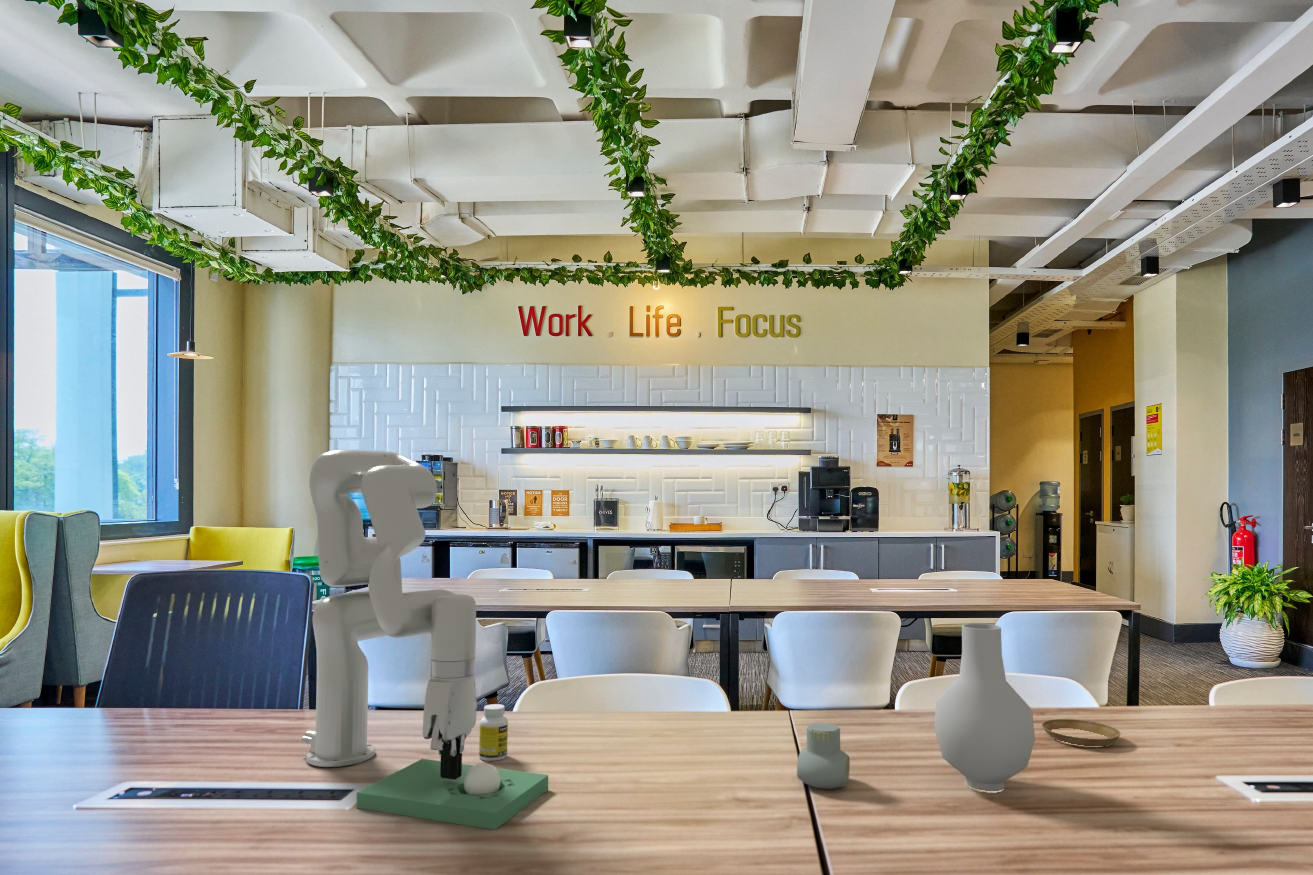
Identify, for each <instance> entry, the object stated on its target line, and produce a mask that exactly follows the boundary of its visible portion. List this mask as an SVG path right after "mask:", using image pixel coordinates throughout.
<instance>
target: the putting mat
mask: <svg viewBox="0 0 1313 875" xmlns="http://www.w3.org/2000/svg"><path fill="white" fill-rule="evenodd" d="M440 765H441V760H435V759H429V758H427V759H426V758H421V759H419V760H417V761H415V762H412V764H410V765H407V766H405V767H403V768H402V769H400V770H398V771H396V772H394V773H392V774H390V775H387V776H386V777H384V778H382V779H380V780H378V781H377V782H374V783H372V784H370V785H368V786H367V787H364V788H363V789H361V790H358V791H356V809H360V810H367V811H374V812H379V813H386V814H393V815H400V816H405V817H412V818H418V819H424V820H430V821H431V820H432V821H437V822H445V823H449V824H456V825H463V826H468V827H476V828H483V829H486V830H487V829H489V830H494V831H495V830H497V829H498V828H500V827H501V826H502V825H503V824H504V823H506V822H507V821H509V820H510V819H511V818H513V817H514V816H515V815H516V814H518V813H519V812H521V811H522V810H523V809H525V808H526V807H528V806H529V805H530V804H532V803H533V802H534V801H535V800H537V799H538V798H539V797H541V796H542V795H544V793H546V792H547V791H548V790H549V775H548V774H543V773H542V774H541V773H535V772H528V771H520V770H514V769H513V770H512V769H505V768H504V769H503V768H497V767H495V768H496V769H497V771H498V772H499V775H500V787H499V790H498V791H497V793H493V794H487V795H480V796H474V795H467V793H466V791H465V788H464V779H465V776H466V774H467V772H468V771H469V770H470V769H471V768H472V767H473V766H475V765H476V764H475V765H474V764H464V763H462V775H461V777H459V778H457V779H456V780H453V779H446V778H441V776H440Z"/></svg>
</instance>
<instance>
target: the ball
mask: <svg viewBox="0 0 1313 875" xmlns="http://www.w3.org/2000/svg"><path fill="white" fill-rule="evenodd" d="M496 768H497V767H495V766H494V765H492V764H490V763H488V762H480V763H477V764H475V766H473V767H472V768H471V769H470V770H469V771H468V772H467V774H466V776H465V779H464V788H465V791H466V793H467V795H474V796H480V795H487V794H493V793H497V791H498V790H499V787H500V775H499V772H498V771H497V769H496Z"/></svg>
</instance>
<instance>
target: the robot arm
mask: <svg viewBox="0 0 1313 875" xmlns="http://www.w3.org/2000/svg"><path fill="white" fill-rule="evenodd" d="M309 472H310V473H309V491H310V496H311V500H312V503H313V507H314V510H315V514H316V522H317V523H316V524H317V548H318V550H317V551H318V552H317V553H318V567H319V568H318V569H319V575H320V578H321V581H322V582H323V583H324V584H325V585H327V586H329V587H337V588H338V587H339V588H341V587H352V586H353V587H354V586H360V585H361V586H363V585H368V591H367V590H366V591H355V592H354V591H353V592H345V593H338V594H333V595H330V596H327V597H324V598H323V599H322V600H320V601H319V602H318V603H317V604H316V606H314V607H315V608H313V613H312V619H311V620H312V627H313V635H314V639H315V648H316V691H315V692H316V694H315V695H316V696H315V697H316V700H315V702H316V703H315V704H316V705H315V731H314V730H307V731H306V732H305V734H304V736H302V738H301V744H304V745H310V750H309V751H307V753H306V755H305V756H306V758H305V760H306V762H307V764H309V765H311V766H314V767H321V768H338V767H346V766H351V765H357V764H360V763H362V762H365V761H368V760H369V759H372V757H374V756H375V754H376V747H375V745H373V744H371V743H369V742H368V721H369V720H368V717H369V716H368V715H369V714H368V713H369V712H368V710H369V707H368V706H369V663H368V659H367V656H366V655H365V653H364V652H363V650H362V648H361V647H360V646H359V643H358V642H361V641H364V640H372V639H377V638H383V637H390V638H394V639H399V638H408V637H413V636H419V635H426V634H430V660H429V661H430V663H429V664H430V665H429V679H428V681H427V686H426V692H425V697H424V707H423V715H422V716H423V718H422V719H423V720H422V737H423V738H424V740H430V739H431V742H430V750H433V751H437V752H438V754H439V756H440V761H441V765H440V776H441V778H446V779H453V780H456V779H457V778H459V777H461V775H462V764H463V752H464V751H465V750H464V749H465V741H466V738H467V737H469V735H470V734H471V733H472V729H474V727H475V726H476V723H477V716H478V714H477V712H478V711H477V710H478V708H477V706H478V705H477V685H476V641H477V640H476V639H477V638H476V637H477V636H476V634H477V633H476V632H477V628H476V625H477V603H476V599H475V598H474V597H473V596H472V595H469V594H459V593H458V594H457V593H453V592H451V591H449V590H446V589H443V588H442V589H429V590H427V589H426V590H420V591H418V590H417V591H410V592H403V580H402V563H401V557H403V556H405V555H407V554H409V553H411V552H412V551H413V550H416V549H417V548H418V547H420V545H422V544H423V542H424V541H425V539H426V530H425V528H424V527H425V526H424V525H423V522H422V519H421V517H420V514H419V510H418V509H424V508H428V507H431V505H432V504H433V503H434V502H435V500H436V498H437V495H438V494H437V493H438V485H437V481H436V479H435V477H434V474H433V473H432V472H431V470H429V468H428V467H426V466H425V465H423V464H421V463H419V462H417V461H415V460H412V459H411V458H408V457H407V456H405V455H402V454H400V453H398V452H397V453H396V452H392V451H385V450H383V451H381V450H363V449H336V450H330V451H327V452H324V453H321V454H320V455H319V456H318V457H317V458H315V460H314V462H313V464H312V466H311V469H310V471H309ZM352 493H353V494H356V493H357V494H362V497H363V500H364V504H365V507H366V510H367V513H368V516H369V519H370V522H371V525H372V528H373V531H374V534H375V536H367V537H366V536H365V534H364V527H363V526H364V524H363V522H364V521H363V514H362V512H361V509H360V508H359V506H358V505H357V503H356V502H355V500H354V499H353V498H352V497H351V496H350V495H349V494H352Z"/></svg>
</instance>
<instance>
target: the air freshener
mask: <svg viewBox="0 0 1313 875" xmlns="http://www.w3.org/2000/svg"><path fill="white" fill-rule="evenodd" d="M850 760H851V759H850V755H849V754H847V753H846V752H844V751H843V750H842V749H841V729H840V728H839V726H837V725H836V724H833V723H828V722H815V723H810V724H808V725H807V726H806V748H804V749H802V750H801V751H799V754H798V758H797V763H796V774H797V775H796V776H797V778H798V779H799V781H800V782H802V783H804V784H806V785H807V786H809V787H812V788H815V787H816V789H820V788H822V789H821V790H834V789H833V788H836V789H839V788H838V787H840V788H841V787H843V786H846V785H847V784H848V782H849V777H850V764H851V763H850V762H851V761H850Z"/></svg>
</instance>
